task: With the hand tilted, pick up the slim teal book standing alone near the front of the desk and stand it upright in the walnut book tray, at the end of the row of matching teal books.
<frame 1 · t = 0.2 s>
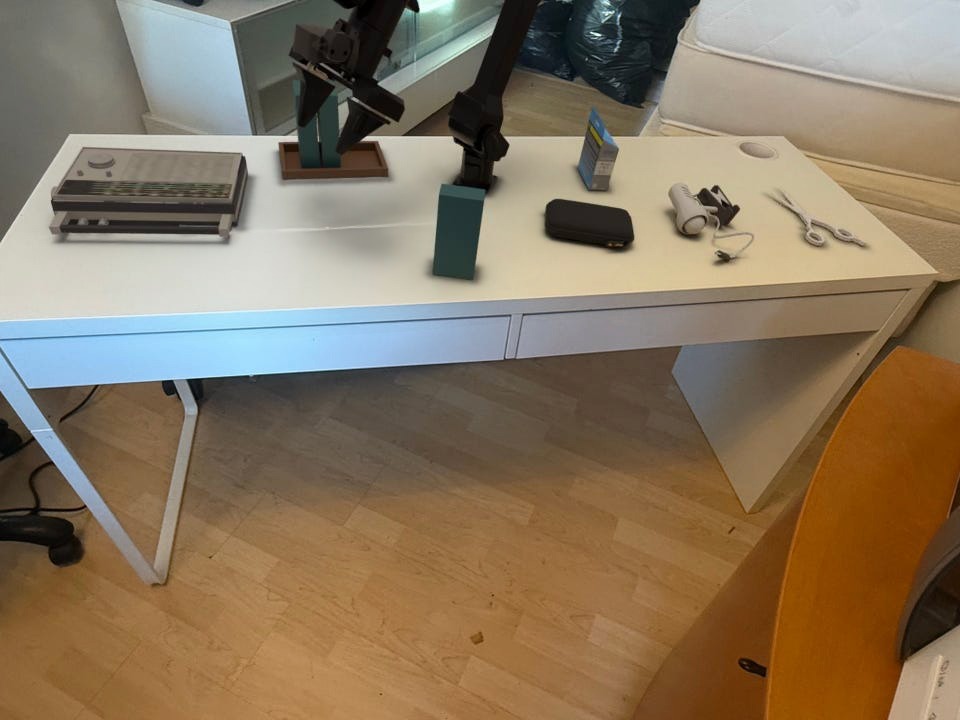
hand: (318, 140, 83), 15 cm above the table, tool tilted 35°, fingers open, 9 cm apart
teal book A: (330, 163, 108), point 1 cm above the table, touching book tray
slim teal book: (453, 271, 90), on the table
scissors: (804, 219, 115), on the table
radio: (157, 207, 93), on the table
clip-on lamp: (705, 235, 107), on the table
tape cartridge: (591, 180, 117), on the table
carrying case: (586, 233, 103), on the table
book tray: (333, 166, 108), on the table
teal book B: (309, 163, 107), point 1 cm above the table, touching book tray
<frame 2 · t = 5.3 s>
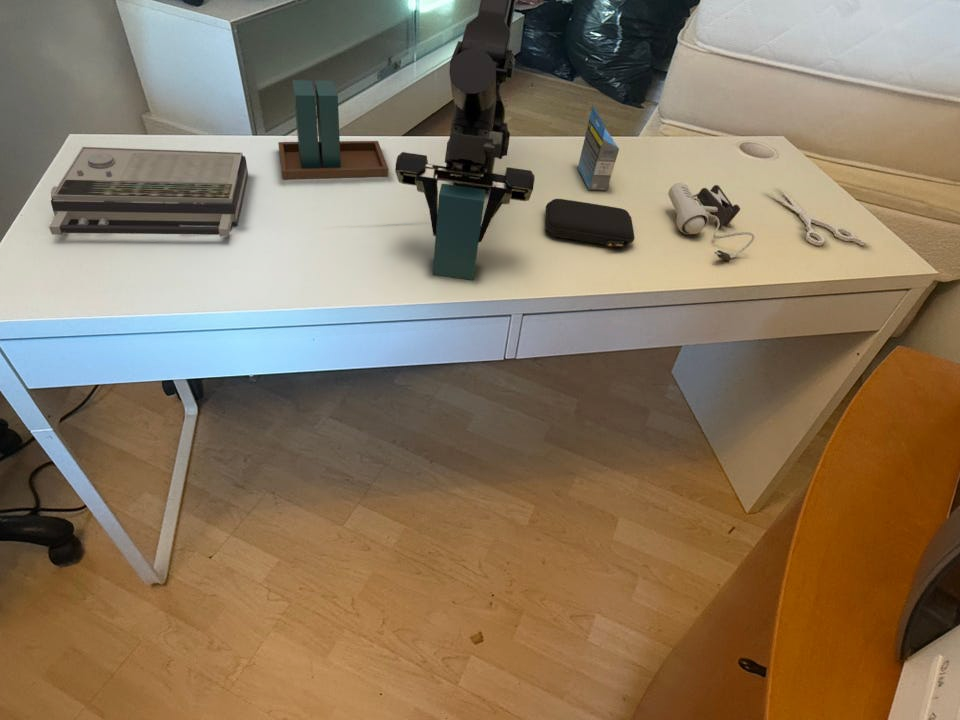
hand: (457, 238, 85), 7 cm above the table, tool tilted 45°, fingers closed on slim teal book, 6 cm apart
slim teal book: (453, 271, 90), on the table, touching gripper
everything else where it was.
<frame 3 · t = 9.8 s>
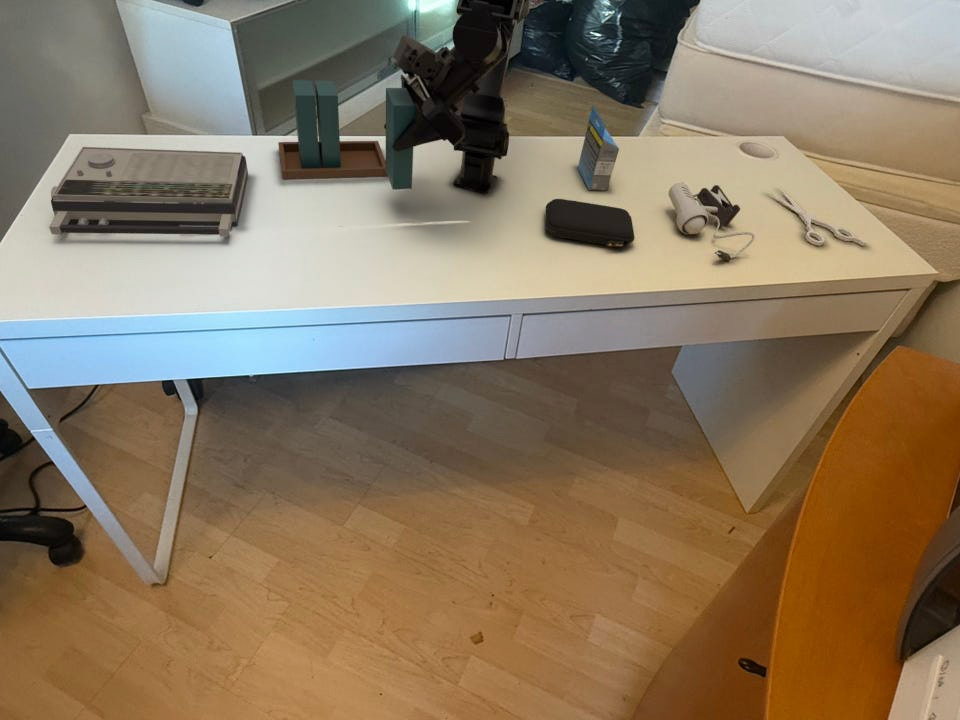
hand: (389, 139, 91), 12 cm above the table, tool tilted 45°, fingers closed on slim teal book, 6 cm apart
slim teal book: (398, 179, 96), point 6 cm above the table, touching gripper
everything else where it was.
when the fingers open (7 cm above the table, at t = 14.5 s): slim teal book stays where it is, resting on book tray.
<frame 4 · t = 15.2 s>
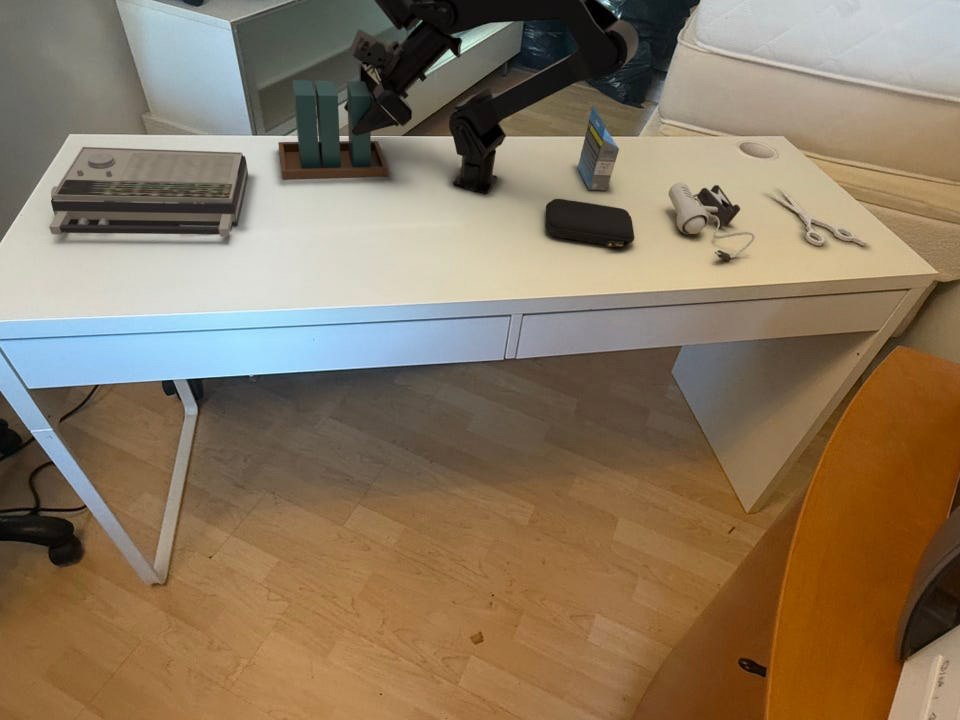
hand: (349, 121, 104), 8 cm above the table, tool tilted 45°, fingers open, 9 cm apart
slim teal book: (359, 162, 109), point 1 cm above the table, touching book tray
everything else where it was.
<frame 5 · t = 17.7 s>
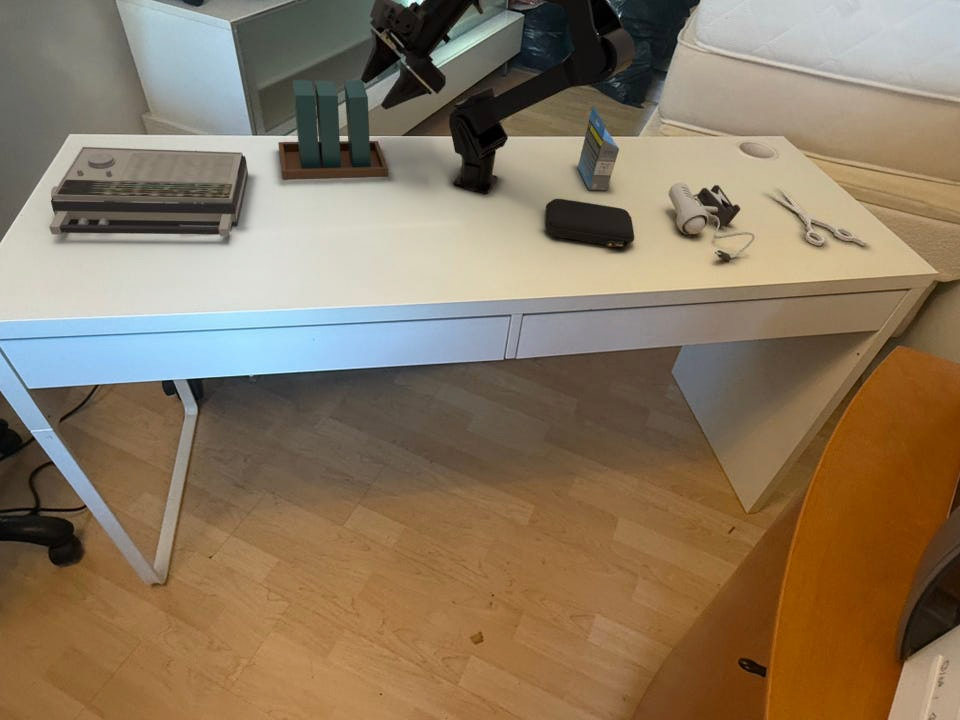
hand: (372, 94, 99), 14 cm above the table, tool tilted 40°, fingers open, 9 cm apart
slim teal book: (359, 161, 109), point 1 cm above the table, touching book tray, gripper
everything else where it was.
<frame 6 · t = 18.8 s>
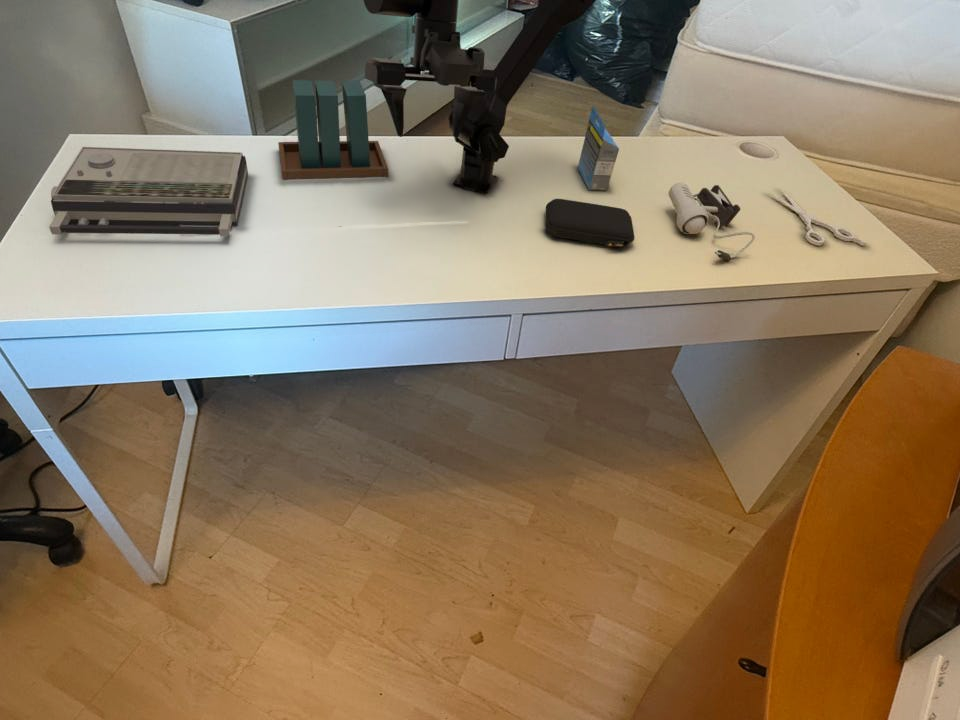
hand: (428, 136, 93), 12 cm above the table, tool pointing down, fingers open, 9 cm apart
slim teal book: (359, 162, 109), point 1 cm above the table, touching book tray
everything else where it was.
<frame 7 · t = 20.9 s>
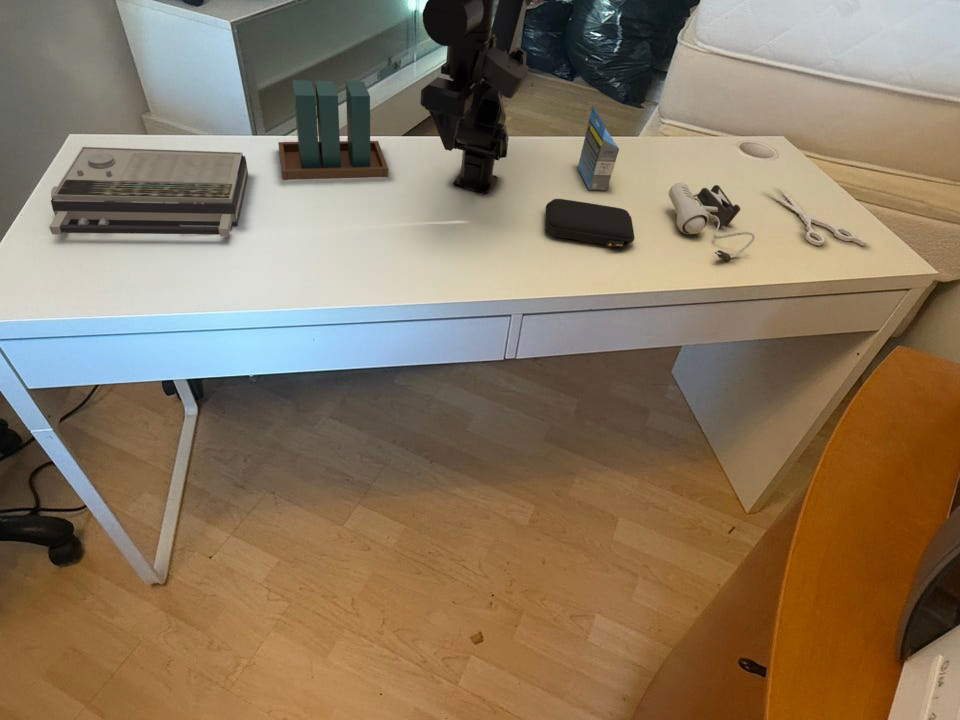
hand: (459, 138, 93), 13 cm above the table, tool pointing down, fingers open, 9 cm apart
nothing on the table moved.
at the end: slim teal book 0.1 cm from the target spot in the book tray, point 0.6 cm above the book tray's base; slim teal book tilted 0°; slim teal book 5.0 cm from the teal book A (horizontally) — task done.
